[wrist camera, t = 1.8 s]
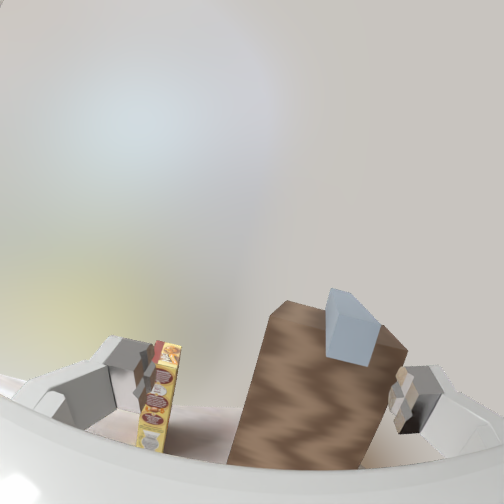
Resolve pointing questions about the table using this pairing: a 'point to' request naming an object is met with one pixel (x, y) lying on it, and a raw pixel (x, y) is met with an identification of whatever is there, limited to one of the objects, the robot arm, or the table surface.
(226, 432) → the table surface
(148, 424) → the candy box
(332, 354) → the bar
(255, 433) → the plinth
